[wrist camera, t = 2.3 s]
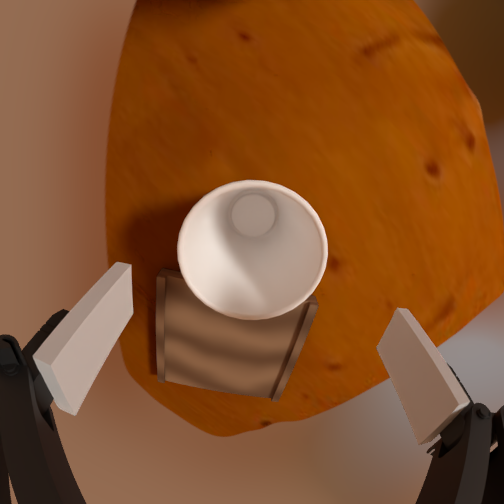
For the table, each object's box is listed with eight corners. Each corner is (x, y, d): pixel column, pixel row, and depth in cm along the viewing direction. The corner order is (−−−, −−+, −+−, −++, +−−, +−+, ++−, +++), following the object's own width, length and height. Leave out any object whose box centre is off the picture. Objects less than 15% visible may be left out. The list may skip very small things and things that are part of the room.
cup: (193, 242, 29) (163, 295, 19) (223, 152, 25) (201, 157, 15) (280, 271, 30) (291, 335, 20) (316, 187, 26) (353, 215, 16)
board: (162, 268, 30) (156, 276, 28) (315, 296, 31) (318, 305, 29) (161, 371, 37) (157, 381, 35) (277, 391, 38) (278, 401, 36)
